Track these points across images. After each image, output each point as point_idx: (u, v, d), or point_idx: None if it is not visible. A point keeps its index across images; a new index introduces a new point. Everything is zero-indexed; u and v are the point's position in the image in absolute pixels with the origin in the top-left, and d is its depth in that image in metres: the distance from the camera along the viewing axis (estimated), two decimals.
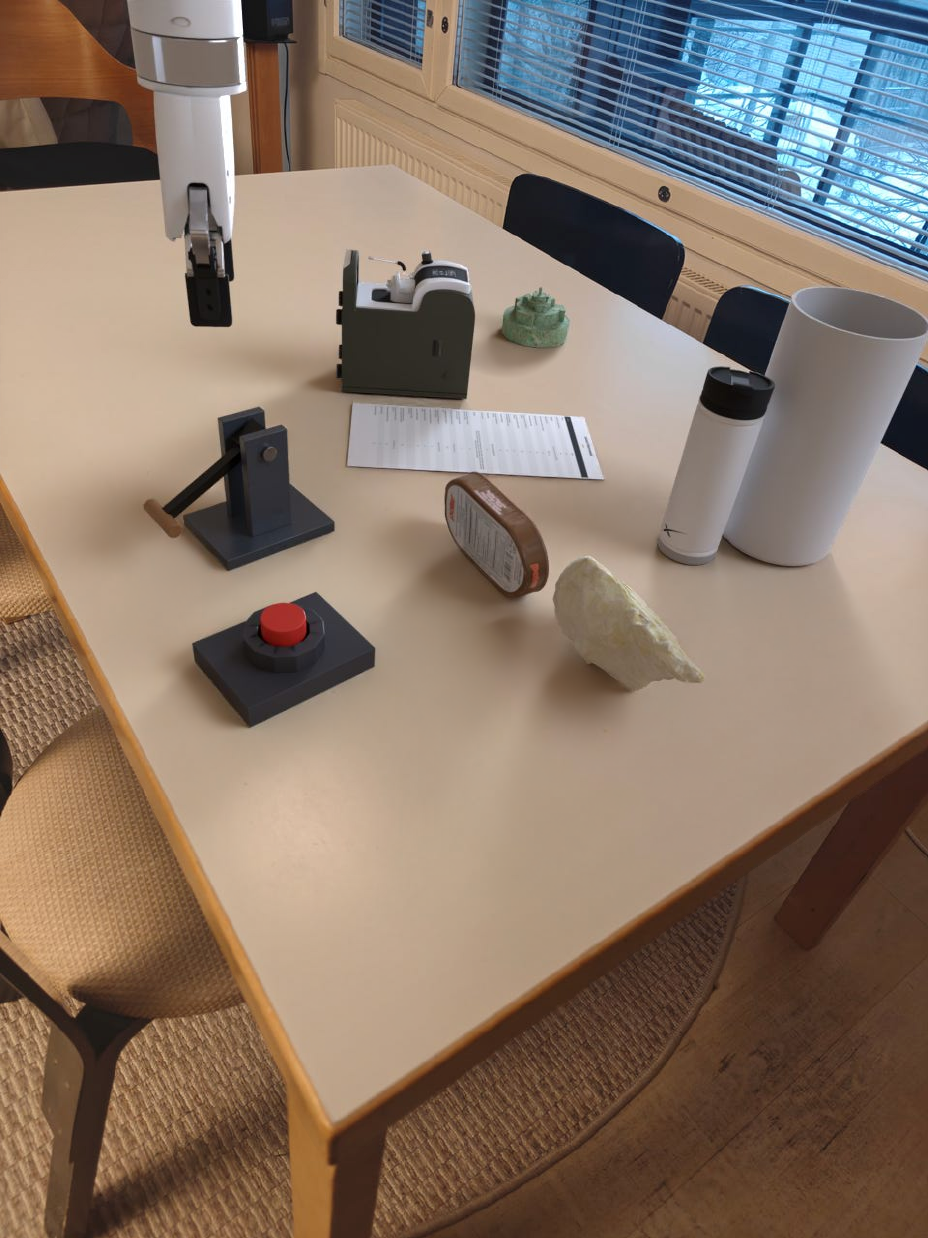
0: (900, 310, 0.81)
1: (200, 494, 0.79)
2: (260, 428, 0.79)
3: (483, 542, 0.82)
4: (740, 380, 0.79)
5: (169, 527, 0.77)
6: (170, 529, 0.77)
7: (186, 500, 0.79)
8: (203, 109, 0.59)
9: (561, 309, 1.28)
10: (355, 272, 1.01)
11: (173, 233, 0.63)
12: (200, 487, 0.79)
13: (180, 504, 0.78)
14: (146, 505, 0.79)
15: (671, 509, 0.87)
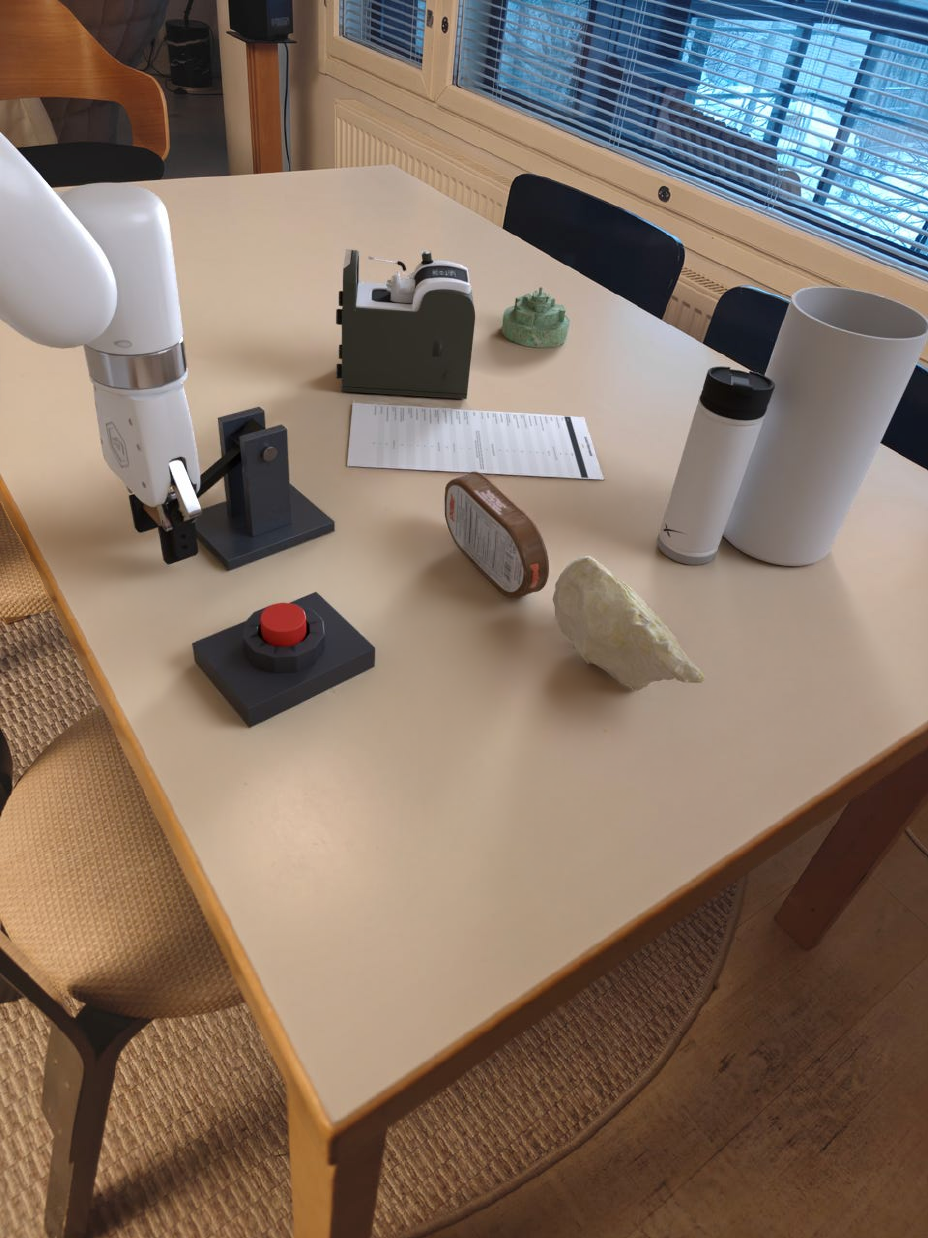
0: (900, 310, 0.81)
1: (200, 494, 0.79)
2: (260, 428, 0.79)
3: (483, 542, 0.82)
4: (740, 380, 0.79)
5: None
6: None
7: None
8: (175, 401, 0.68)
9: (561, 309, 1.28)
10: (355, 272, 1.01)
11: (158, 502, 0.71)
12: (200, 488, 0.79)
13: None
14: (146, 505, 0.79)
15: (671, 509, 0.87)
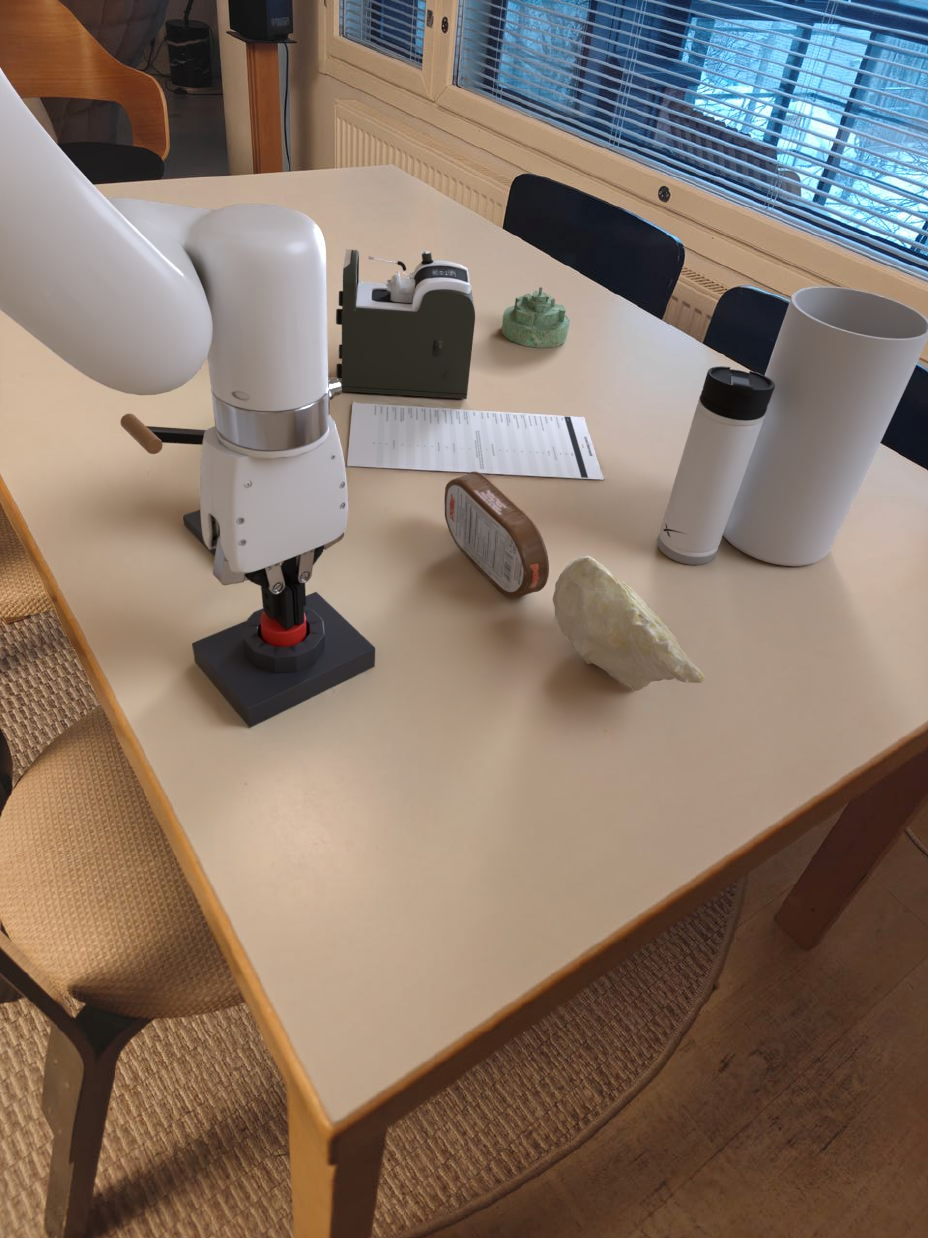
0: (900, 310, 0.81)
1: (186, 442, 0.75)
2: None
3: (483, 542, 0.82)
4: (740, 380, 0.79)
5: (154, 438, 0.71)
6: (153, 440, 0.71)
7: (173, 435, 0.74)
8: (221, 461, 0.56)
9: (561, 309, 1.28)
10: (355, 272, 1.01)
11: (205, 543, 0.62)
12: (192, 436, 0.75)
13: (166, 434, 0.73)
14: (129, 416, 0.73)
15: (671, 509, 0.87)
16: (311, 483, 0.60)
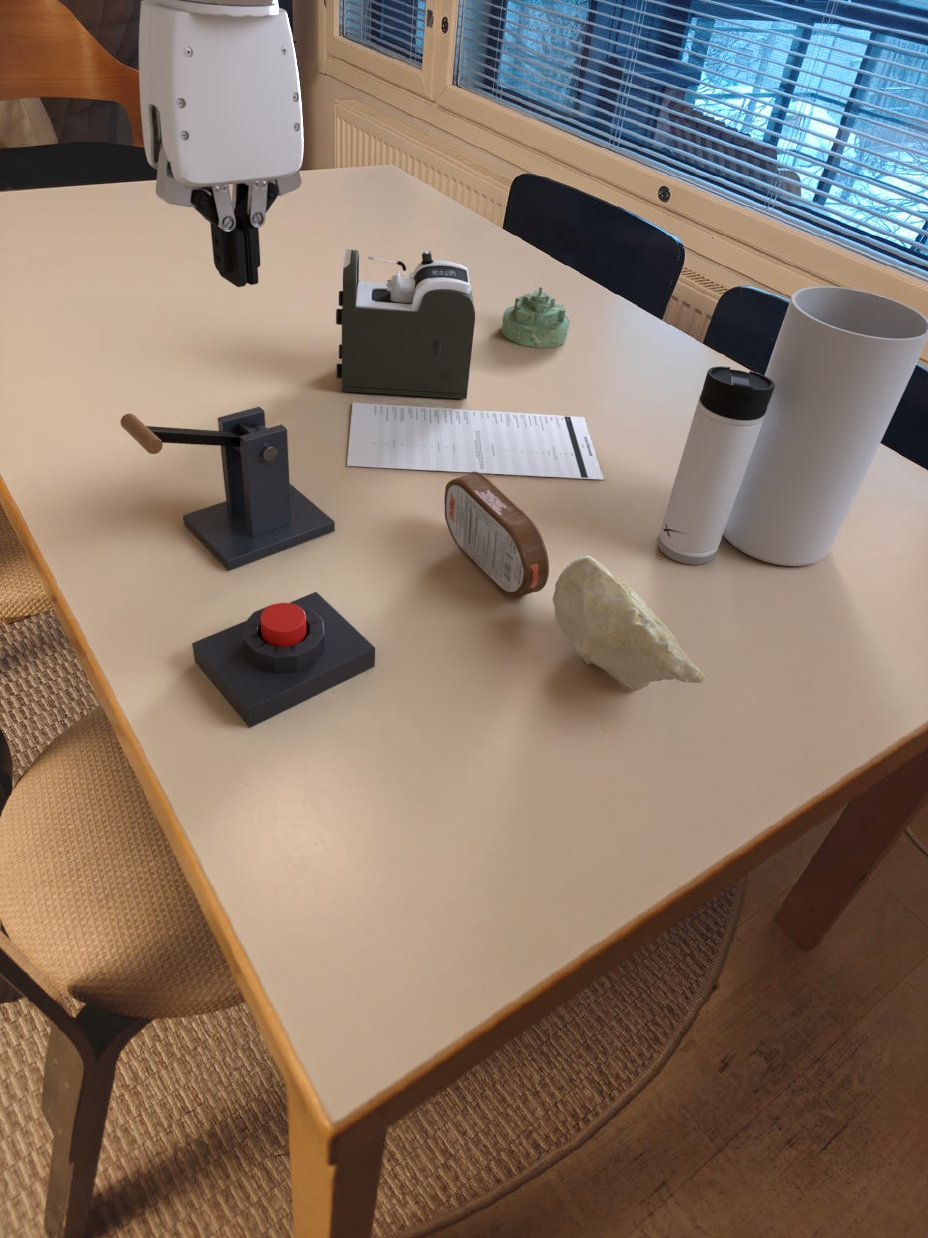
0: (900, 310, 0.81)
1: (186, 442, 0.75)
2: None
3: (483, 542, 0.82)
4: (740, 380, 0.79)
5: (154, 438, 0.71)
6: (153, 440, 0.71)
7: (173, 435, 0.74)
8: (158, 21, 0.51)
9: (561, 309, 1.28)
10: (355, 272, 1.01)
11: (147, 158, 0.58)
12: (192, 436, 0.75)
13: (166, 434, 0.73)
14: (129, 416, 0.73)
15: (671, 509, 0.87)
16: (260, 77, 0.55)
